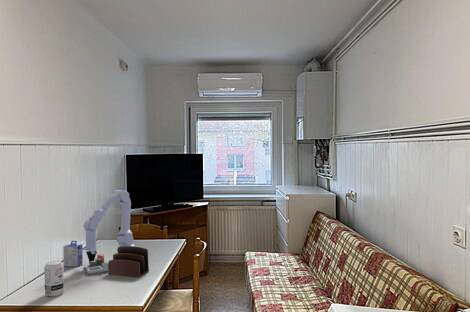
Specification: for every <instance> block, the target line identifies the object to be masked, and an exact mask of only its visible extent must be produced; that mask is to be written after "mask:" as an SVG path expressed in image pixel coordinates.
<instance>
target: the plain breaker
mask: <svg viewBox="0 0 470 312" xmlns="http://www.w3.org/2000/svg"><path fill="white" fill-rule="evenodd" d="M94 261H95V262H96V265H102V259H101V258H98V259H97V258H95V260H94Z"/></svg>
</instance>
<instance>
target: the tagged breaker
mask: <svg viewBox="0 0 470 312" xmlns="http://www.w3.org/2000/svg"><path fill="white" fill-rule="evenodd" d="M88 265H89V267H95V266H96V262H95V260H94V261H89V260H88Z"/></svg>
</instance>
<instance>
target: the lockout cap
mask: <svg viewBox="0 0 470 312" xmlns="http://www.w3.org/2000/svg"><path fill="white" fill-rule="evenodd" d="M96 255H97V256H96V259H98V258H101V259H102V263H105V254H96Z"/></svg>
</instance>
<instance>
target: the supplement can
mask: <svg viewBox="0 0 470 312" xmlns="http://www.w3.org/2000/svg"><path fill="white" fill-rule="evenodd" d="M64 267H65V266H64V265H63V262H62V261H61V260H55V261H54V260H53V261H49V262H46V263H45V265H44V267H43V268H44V270H43V271H44V295H45V296H46V297H47V296H56V297H59V296H61V294H62V295H63V293H65V275H64V272H65V270H64Z"/></svg>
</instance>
